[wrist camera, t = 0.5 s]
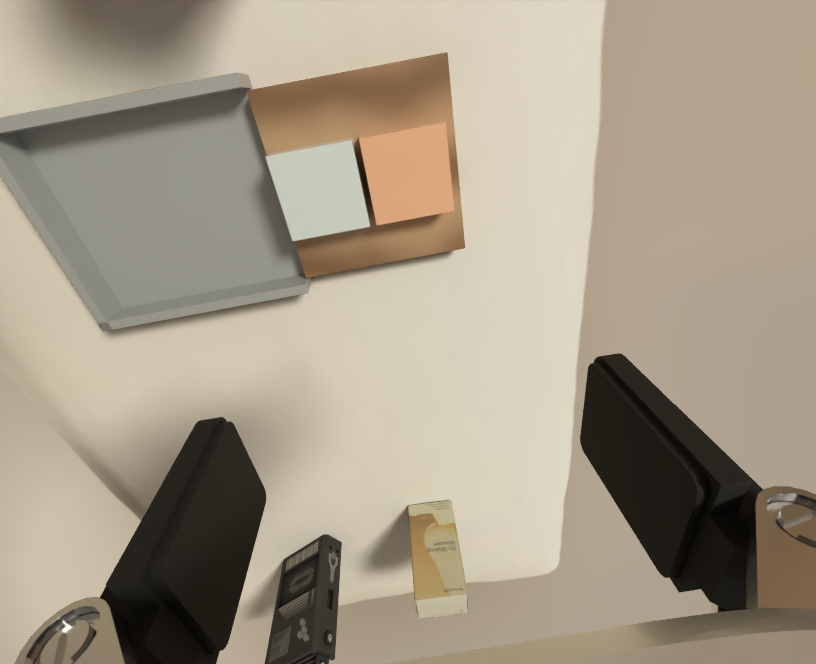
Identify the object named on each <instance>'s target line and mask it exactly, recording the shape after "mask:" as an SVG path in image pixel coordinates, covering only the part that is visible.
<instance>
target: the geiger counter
mask: <svg viewBox="0 0 816 664" xmlns="http://www.w3.org/2000/svg"><path fill="white" fill-rule="evenodd" d="M341 545H342V542H340V541H338V540H336V539H335V538H333V537H331V536H329V535H322V536H321V537H319V538H318V539H316V540H314V541H313V542H311V543H310V544H308V545H306V546H305V547H303V548H302V549H300V550H298V551H297V552H295V553H294V554H292V555H290V556H289V557H287V558H286V559H284V562H283V567H282V572H281V578H280V583H279V589H278V594H277V600H276V605H275V611H274V616H273V622H272V627H271V633H270V638H269V644H268V649H267V655H266V660H265V664H321V663H323V662H324V664H328V663H329V660H334V659H335V646H336V629H337V628H336V627H337V613H338V596H339V579H340V562H341Z"/></svg>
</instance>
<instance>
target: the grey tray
mask: <svg viewBox="0 0 816 664" xmlns="http://www.w3.org/2000/svg"><path fill="white" fill-rule="evenodd" d="M248 90H253V89H252V86H251V82H250V79H249V76H248V75H245V74H240V73H232V74H227V75H221V76H216V77H211V78H206V79H200V80H195V81H190V82H185V83H180V84H174V85H169V86H164V87H159V88H153V89H148V90H143V91H138V92H132V93H127V94H122V95H117V96H112V97H106V98H101V99H96V100H91V101H85V102H80V103H75V104H70V105H65V106H59V107H54V108H49V109H44V110H38V111H33V112H28V113H23V114H18V115H12V116H7V117H2V118H0V177H1V178H2V180H3V181H4V183H5V184H6V186H7V187H8V189H9V190H10V192H11V193H12V195H13V196H14V198H15V199H16V201H17V202H18V204H19V205H20V207H21V208H22V210H23V212H24V213H25V215H26V216H27V218H28V219H29V221H30V222H31V224H32V225H33V227H34V228H35V230H36V231H37V233H38V234H39V236H40V237H41V239H42V240H43V242H44V243H45V245H46V246H47V248H48V249H49V251H50V252H51V254H52V255H53V257H54V258H55V260H56V261H57V263H58V264H59V266H60V267H61V269H62V270H63V272H64V273H65V275H66V276H67V278H68V280H69V281H70V283H71V284H72V286H73V287H74V289H75V290H76V292H77V293H78V295H79V296H80V298H81V299H82V301H83V302H84V304H85V305H86V307H87V308H88V310H89V311H90V313H91V314H92V316H93V317H94V319H95V320H96V322H97V323H98V325H99V326H100V328H101V329H102V331H108V330H113V329H119V328H124V327H129V326H135V325H140V324H145V323H151V322H156V321H161V320H167V319H172V318H178V317H183V316H188V315H194V314H199V313H204V312H210V311H215V310H220V309H226V308H231V307H236V306H242V305H247V304H252V303H258V302H263V301H268V300H274V299H279V298H284V297H290V296H295V295H300V294H306V293H308V291H309V288H310V285H311V282H312V277H308V278H306V276H305V273H304V270H303V267H302V264H301V261H300V257H299V254H298V251H297V248H296V245H295V242H294V241H292V238H291V235H290V232H289V228H288V225H287V222H286V219H285V216H284V213H283V210H282V207H281V204H280V201H279V198H278V194H277V191H276V188H275V185H274V182H273V179H272V176H271V173H270V170H269V167H268V164H267V160H266V157H265V156H267V155H266V152H265V148H264V145H263V142H262V139H261V136H260V133H259V130H258V127H257V123H256V120H255V117H254V114H253V111H252V108H251V105H250V102H249V99H248V95H247V92H246V91H248Z"/></svg>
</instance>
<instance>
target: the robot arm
mask: <svg viewBox="0 0 816 664" xmlns="http://www.w3.org/2000/svg"><path fill="white" fill-rule="evenodd" d="M580 441H581V446H582V449H583V451H584V453H585V455H586V456H587V458H588V459H589V461H590V463H591V464H592V466H593V467H594V469H595V471H596V472H597V474H598V475H599V477H600V479H601V480H602V482H603V483H604V485H605V487H606V488H607V490H608V491H609V493H610V494H611V496H612V498H613V499H614V501H615V503H616V504H617V506H618V507H619V509H620V511H621V512H622V514H623V515H624V517H625V519H626V520H627V522H628V523H629V525H630V527H631V528H632V530H633V531H634V533H635V534H636V536H637V538H638V539H639V541H640V543H641V544H642V546H643V547H644V549H645V551H646V552H647V554H648V555H649V557H650V559H651V560H652V562H653V564H654V565H655V566H656V568H657V570H658V571H659V573H660V574H661V575H663V576H664V577H666V578H668V577H670V579H671V580H672V582H673V583H674V585H675V586H676V588H677V590H678V591H679V592H684V591H691V590H697V589H702V591H703V592H704V594H705V595H706V597H707V598H708V599H709V601H710V602H712V609H711V613H710V614H702V615H695V616H688V617H681V618H673V619H667V620H659V621H652V622H644V623H638V624H632V625H625V626H619V627H613V628H606V629H601V630H594V631H587V632H581V633H575V634H569V635H562V636H556V637H550V638H543V639H537V640H531V641H524V642H518V643H512V644H506V645H500V646H493V647H488V648H481V649H475V650H470V651H463V652H457V653H450V654H445V655H438V656H432V657H426V658H420V659H414V660H408V661H402V662H396V663H390V664H816V494H813V493H811V492H808V491H806V490H802V489H798V488H793V487H789V486H774V487H770V488H766V489H764V490H763V489H762V488H761V487H760V486H759V485H758V484H757V483H756V482H755V481H754V480H753V479H752V478H750V477H749V476H748V475H747V474H746V473H745V472H744V471H743V470H742V469H741V468H740V467H739V466H738V465H737V464H736V463H735V462H734V461H733V460H732V459H731V458H730V457H729V456H728V455H727V454H726V453H725V452H724V451H722V450H721V449H720V448H719V447H718V446H717V445H716V444H715V443H714V442H713V441H712V440H711V439H710V438H709V437H708V436H707V435H706V434H705V433H704V432H703V431H702V430H701V429H700V428H699V427H698V426H696V424H694V422H692V421H691V420H690V419H689V418H688V417H687V416H686V415H685V414H684V413H683V412H682V411H681V410H680V409H679V408H678V407H677V406H676V405H675V404H673V403H672V402H671V401H670V400H669V399H668V398H667V397H666V396H665V395H664V394H663V393H662V392H661V391H660V390H659V389H658V388H657V387H656V386H655V385H654V384H653V383H651V381H650V380H649V379H648V378H647V377H646V376H645V375H643V374H642V373H641V372H640V371H639V370H638V369H637V368H636V367H635V366H634V365H633V364H632V363H631V362H630V361H629V360H628V359H627V358H626V357H625V356H623V355H622V354H619V353H618V354H612V355H606V356H600V357H597V358H596V359H595V361H594V363H592V364H590V365H589V367H588V374H587V383H586V392H585V402H584V409H583V418H582V427H581V436H580ZM265 503H266V492H265V489H264V486H263V484H262V482H261V480H260V478H259V476H258V474H257V472H256V470H255V468H254V466H253V463H252V461H251V459H250V457H249V455H248V453H247V451H246V449H245V447H244V445H243V443H242V440H241V438H240V436H239V434H238V432H237V430H236V428H235V426H234V424H233V423H232V422H227V421H226V419H224V418H222V417H219V418H213V419H207V420H201V421H198V422H197V423H196V424H195V426H194V428H193V430H192V431H191V433H190V435H189V437H188V439H187V440H186V442H185V444H184V446H183V448H182V449H181V451H180V453H179V455H178V456H177V458H176V460H175V462H174V464H173V465H172V467H171V469H170V471H169V473H168V474H167V476H166V478H165V480H164V481H163V483H162V485H161V487H160V489H159V490H158V492H157V494H156V496H155V498H154V499H153V501H152V503H151V505H150V506H149V508H148V510H147V512H146V514H145V515H144V517H143V519H142V521H141V523H140V524H139V526H138V528H137V530H136V531H135V533H134V535H133V537H132V539H131V540H130V542H129V544H128V546H127V548H126V550H125V551H124V553H123V555H122V556H121V558H120V560H119V562H118V564H117V566H116V567H115V569H114V571H113V573H112V574H111V576H110V578H109V580H108V582H107V583H106V587H105V589H104V591H103V593H102V595H101V596H100V598H98V597H92V598H85V599H82V600H79V601H76V602H74V603H72V604H70V605H69V606H66V607H65V608H63V609H61V610H60V611H58V612H57V613H56V614H55V615H53V616H52V617H51V618H49V620H47V621H46V622H45V623H44V624H43V625H42V626H41V627H40V628H39V629H38V630H37V631H36V632H35V633H34V634H33V635H32V636H31V637H30V639H29V640H28V642H27V643H26V644H25V646H24V647H23V649H22V650H21V651H20V654H19V656H18V658H17V660H16V662H15V664H216V662H217V658H218V655H219V651H221V650H223V649H224V648H225V647H226V645H227V644H228V641H229V638H230V634H231V630H232V626H233V623H234V619H235V615H236V612H237V608H238V604H239V600H240V597H241V593H242V589H243V585H244V582H245V578H246V574H247V571H248V567H249V563H250V559H251V556H252V552H253V548H254V544H255V541H256V537H257V533H258V530H259V526H260V522H261V518H262V515H263V511H264V507H265Z"/></svg>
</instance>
